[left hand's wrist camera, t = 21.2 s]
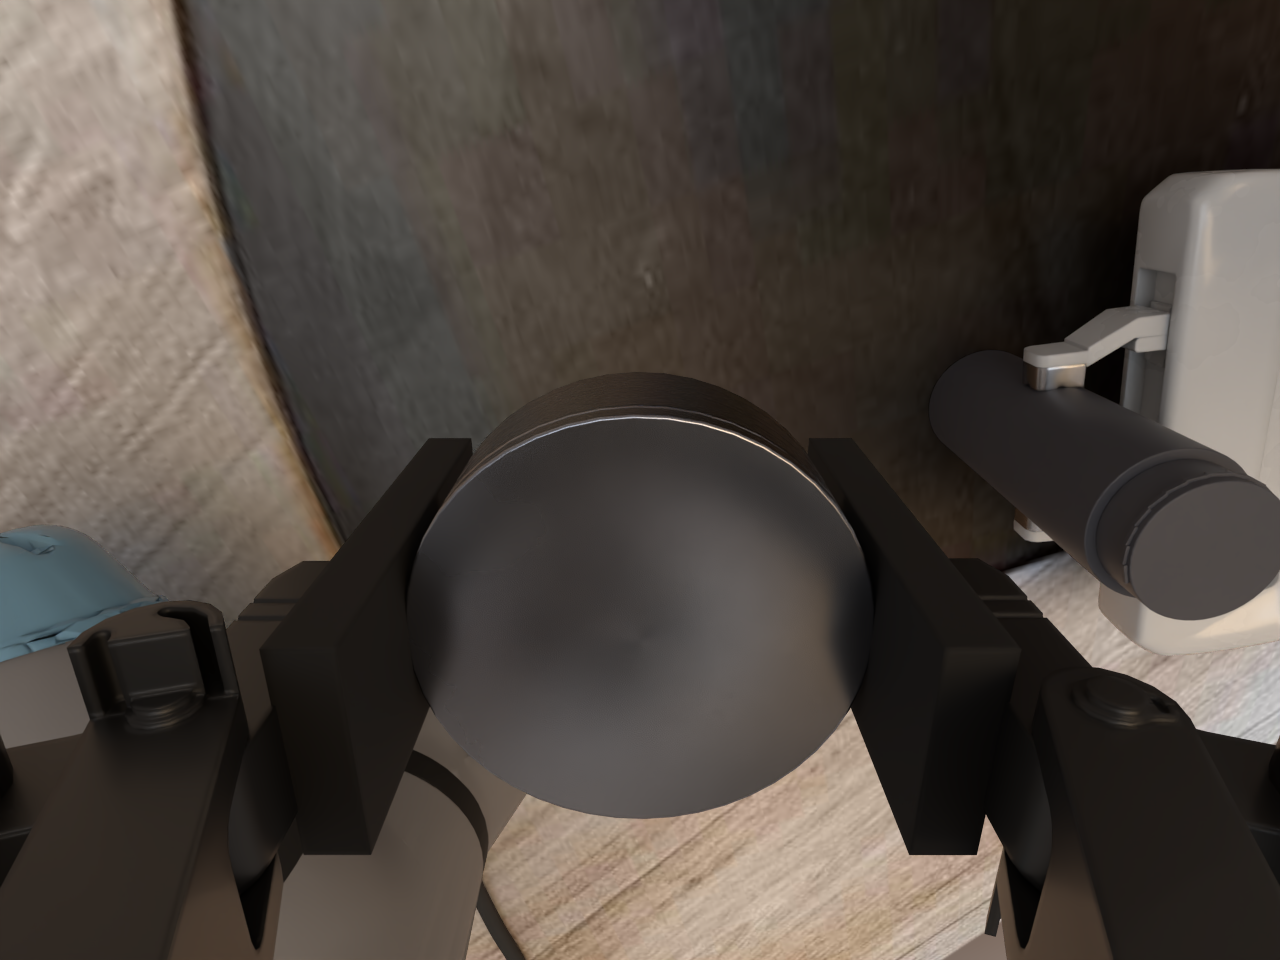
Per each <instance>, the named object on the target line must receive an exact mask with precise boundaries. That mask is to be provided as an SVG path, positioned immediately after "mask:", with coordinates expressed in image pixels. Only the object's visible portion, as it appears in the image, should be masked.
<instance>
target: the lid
mask: <svg viewBox="0 0 1280 960" xmlns="http://www.w3.org/2000/svg"><path fill="white" fill-rule="evenodd" d="M405 610H406V619H407V627H408V635H409V643H410V650H411V657H412V664H413V671H414V673H415V676H416V678H417V681H418V683H419V686H420V688H421V691H422V694H423V695H424V697H425V699H426V701H427V702H428V704H429V706H430V708H431V709H432V711H433V713H434V715H435V716H436V718H437V719H438V720H439V722H440V723H441V724H442V726H443V727H444V728H445V730H446V731H447V732H448V734H449V735H450V736H451V737H452V738H453V739H454V740H455V741H456V743H457V744H458V745H459V746H460V747H461V748H462V749H463V750H464V751H465V752H466V753H467V754H468V755H469V756H470V757H472V758H473V759H474V760H475V761H477V762H478V763H479V764H480V765H482V766H483V767H484V768H485V769H487V770H488V771H489V772H490V773H492V774H494V775H495V776H497V777H498V778H500V779H502V780H503V781H505V782H506V783H508V784H510V785H511V786H513V787H515V788H517V789H519V790H521V791H523V792H525V793H527V794H529V795H531V796H533V797H535V798H538V799H540V800H543V801H546V802H549V803H552V804H554V805H557V806H560V807H563V808H567V809H571V810H575V811H579V812H583V813H587V814H593V815H600V816H607V817H615V818H636V819H649V818H664V817H675V816H681V815H687V814H693V813H699V812H703V811H706V810H710V809H714V808H717V807H721V806H724V805H727V804H730V803H732V802H735V801H738V800H740V799H743V798H745V797H748V796H750V795H752V794H754V793H756V792H758V791H760V790H762V789H764V788H766V787H768V786H770V785H771V784H773V783H775V782H777V781H778V780H780V779H781V778H783V777H784V776H785V775H787V774H788V773H790V772H791V771H793V770H794V769H796V768H797V767H798V766H800V765H801V764H802V763H803V762H804V761H805V760H807V759H808V758H809V757H810V756H811V755H812V754H813V753H815V752H816V751H817V750H818V749H819V748H820V747H821V745H822V744H823V743H824V742H825V741H826V740H827V739H828V738H829V737H830V736H831V734H832V733H833V732H834V731H835V730H836V728H837V727H838V725H839V724H840V723H841V721H842V720H843V718H844V717H845V715H846V714H847V712H848V711H849V710H850V708H851V706H852V704H853V702H854V700H855V698H856V696H857V694H858V692H859V690H860V688H861V686H862V683H863V680H864V677H865V674H866V671H867V668H868V663H869V656H870V649H871V642H872V635H873V626H874V618H875V599H874V591H873V583H872V578H871V575H870V571H869V568H868V564H867V561H866V557H865V554H864V552H863V550H862V548H861V546H860V543H859V541H858V539H857V537H856V535H855V533H854V530H853V528H852V527H851V525H850V523H849V522H848V520H847V518H846V517H845V515H844V513H843V512H842V510H841V508H840V507H839V505H838V503H837V502H836V500H835V498H834V496H833V495H832V493H831V491H830V490H829V488H828V486H827V485H826V483H825V481H824V480H823V478H822V476H821V475H820V473H819V471H818V470H817V468H816V467H815V465H814V464H813V462H812V461H811V459H810V458H809V456H808V455H807V453H806V451H805V450H804V449H803V448H802V446H801V445H800V444H799V443H798V442H797V441H796V440H795V439H794V437H793V436H792V435H791V434H790V433H789V432H788V431H787V430H786V429H785V428H784V427H783V426H782V425H781V424H779V423H778V422H777V421H776V420H775V419H773V418H772V417H771V416H770V415H769V414H768V413H766V412H765V411H763V410H762V409H760V408H758V407H757V406H755V405H754V404H752V403H751V402H749V401H747V400H746V399H744V398H742V397H740V396H738V395H736V394H734V393H732V392H729V391H727V390H725V389H723V388H721V387H719V386H715V385H712V384H709V383H706V382H702V381H699V380H696V379H693V378H688V377H682V376H676V375H670V374H665V373H643V372H632V373H620V374H608V375H603V376H598V377H594V378H589V379H585V380H580V381H577V382H574V383H571V384H569V385H566V386H563V387H560V388H558V389H555V390H552V391H550V392H549V393H547V394H545V395H543V396H541V397H539V398H537V399H535V400H533V401H531V402H529V403H528V404H526V405H525V406H523V407H522V408H521V409H519V410H518V411H516V412H515V413H513V414H512V415H511V416H509V417H508V418H507V419H505V420H504V421H503V422H502V423H501V424H500V425H499V426H498V427H497V428H496V429H495V430H494V431H493V432H492V433H490V434H489V435H488V436H487V438H486V439H485V440H484V441H483V443H482V444H481V445H480V446H479V448H478V449H477V450H476V451H475V452H474V454H473V455H472V456H471V458H470V460H469V461H468V463H467V465H466V466H465V468H464V470H463V471H462V473H461V474H460V476H459V478H458V479H457V481H456V483H455V484H454V486H453V488H452V489H451V491H450V493H449V494H448V496H447V497H446V499H445V501H444V502H443V504H442V506H441V507H440V509H439V511H438V512H437V514H436V516H435V517H434V519H433V521H432V522H431V524H430V526H429V528H428V529H427V531H426V533H425V534H424V536H423V538H422V541H421V543H420V546H419V548H418V551H417V553H416V556H415V558H414V561H413V563H412V567H411V572H410V576H409V581H408V585H407V589H406V602H405Z"/></svg>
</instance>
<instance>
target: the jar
mask: <svg viewBox="0 0 1280 960" xmlns="http://www.w3.org/2000/svg"><path fill="white" fill-rule="evenodd" d="M1022 374H1023V359H1022V358H1020V357H1018V356H1016V355H1013V354H1011V353H1008V352H1005V351H999V350H986V351H980V352H976V353H973V354H970V355H967V356H965V357H964V358H962V359H960V360H958V361H957V362H955V363H954V364H953V365H951V366H950V367H949V368H948V369H947V370H946V371H945V372H944V373H943V374H942V376H941V377H940V378H939V380H938V381H937V383H936V385H935V387H934V389H933V392H932V394H931V398H930V403H929V419H930V423H931V426H932V429H933V431H934V433H935V434H936V436H937V437H938V438H939V440H940V441H941V442H942V443H943V444H944V445H946V446H947V447H948V448H949V449H950V450H951V451H952V452H954V453H955V454H956V455H957V456H958V457H959V458H960V459H962V460H963V461H964V462H965V463H966V464H967V465H968V466H969V467H971V468H972V469H973V470H974V471H975V472H976V473H977V474H979V475H980V476H981V477H982V478H983V479H984V480H985V481H987V482H988V483H989V484H990V485H991V486H992V487H993V488H994V489H996V490H997V491H998V492H999V493H1000V494H1001V495H1002V496H1004V497H1005V498H1006V499H1007V500H1008V501H1009V502H1010V503H1011V504H1013V505H1014V506H1015V507H1016V508H1017V509H1018V510H1019V511H1021V512H1022V513H1023V514H1024V515H1025V516H1026V517H1027V518H1029V519H1030V520H1031V521H1032V522H1033V523H1034V524H1035V525H1036V526H1038V527H1039V528H1040V529H1041V530H1042V531H1043V532H1044V533H1046V534H1047V535H1048V536H1049V537H1050V538H1051V539H1052V540H1053V541H1055V542H1056V543H1057V544H1058V545H1059V546H1060V547H1061V548H1063V549H1064V550H1065V551H1066V552H1067V553H1068V554H1069V555H1071V556H1072V557H1073V558H1074V559H1075V560H1076V561H1077V562H1078V563H1080V564H1081V565H1082V566H1083V567H1084V568H1085V569H1086V570H1088V571H1089V572H1090V573H1091V574H1092V575H1093V576H1094V577H1096V578H1097V579H1098V580H1099V581H1100V582H1101V583H1103V584H1104V585H1105V586H1106V587H1108V588H1109V589H1111V590H1113V591H1115V592H1117V593H1119V594H1122V595H1125V596H1129V597H1133V598H1137V599H1138V600H1139V601H1140V602H1141V603H1143V604H1144V605H1145V606H1146V607H1147V608H1149V609H1150V610H1152V611H1153V612H1155V613H1157V614H1159V615H1162V616H1164V617H1167V618H1171V619H1176V620H1184V621H1195V620H1204V619H1209V618H1214V617H1217V616H1220V615H1223V614H1226V613H1229V612H1231V611H1233V610H1235V609H1237V608H1239V607H1241V606H1243V605H1245V604H1246V603H1248V602H1249V601H1251V600H1252V599H1253V598H1255V597H1256V596H1257V595H1258V594H1260V593H1261V592H1262V591H1263V590H1264V589H1265V588H1266V587H1267V586H1268V585H1269V584H1270V583H1271V582H1272V580H1273V579H1274V578H1275V577H1276V575H1277V574H1278V572H1279V571H1280V499H1279V498H1278V497H1277V496H1275V495H1274V494H1273V493H1272V492H1271V491H1270V489H1269V488H1268V487H1267V486H1266V484H1264V483H1262V482H1260V481H1258V480H1256V479H1254V478H1253V477H1251V476H1249V475H1247V474H1246V472H1245V471H1244V470H1243V468H1242V467H1241V466H1240V465H1239V464H1237V463H1236V462H1235V461H1234V460H1232V459H1231V458H1229V457H1228V456H1226V455H1224V454H1222V453H1220V452H1218V451H1215V450H1213V449H1211V448H1209V447H1207V446H1205V445H1203V444H1201V443H1199V442H1196V441H1194V440H1192V439H1190V438H1188V437H1186V436H1184V435H1182V434H1180V433H1178V432H1175V431H1173V430H1171V429H1169V428H1167V427H1165V426H1163V425H1161V424H1159V423H1157V422H1154V421H1152V420H1150V419H1148V418H1146V417H1144V416H1142V415H1140V414H1138V413H1135V412H1133V411H1131V410H1129V409H1127V408H1125V407H1123V406H1121V405H1119V404H1117V403H1114V402H1112V401H1110V400H1108V399H1106V398H1104V397H1102V396H1100V395H1098V394H1095V393H1093V392H1091V391H1089V390H1087V389H1085V388H1083V387H1078V388H1064V387H1062V386H1060V387H1059V388H1058V389H1055V390H1051V391H1038V390H1034V389H1032V388H1031V387H1030V385H1024V384H1023V383H1022Z"/></svg>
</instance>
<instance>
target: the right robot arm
mask: <svg viewBox="0 0 1280 960" xmlns="http://www.w3.org/2000/svg"><path fill="white" fill-rule="evenodd" d="M1120 347H1122V348H1125V356H1124V365H1123V374H1122V384H1121V393H1120V403H1119V405H1121V406H1123V407H1125V408H1127V409H1129V410H1131V411H1133V412H1135V413H1138V414H1140V415H1142V416H1144V417H1146V418H1148V419H1150V420H1152V421H1154V422H1157V423H1159V424H1161V425H1163V426H1165V427H1167V428H1169V429H1171V430H1173V431H1175V432H1178V433H1180V434H1182V435H1184V436H1186V437H1188V438H1190V439H1192V440H1194V441H1196V442H1199V443H1201V444H1203V445H1205V446H1207V447H1209V448H1211V449H1213V450H1215V451H1218V452H1220V453H1222V454H1224V455H1226V456H1228V457H1229V458H1231V459H1232V460H1234V461H1235V462H1236V463H1237V464H1239V465H1240V466H1241V467H1242V468H1243V470H1244V471H1245V472H1246V474H1247V475H1249V476H1251V477H1253V478H1254V479H1256V480H1258V481H1260V482H1262V483H1264V484H1266V486H1267V487H1268V488H1269V489H1270V491H1271V492H1272V493H1273V494H1274V495H1275V496H1277V497H1278V498H1279V499H1280V169H1242V170H1218V171H1200V172H1186V173H1178V174H1172V175H1170V176H1168V177H1167V178H1166V179H1165V180H1163V181H1162V182H1161V183H1160V184H1159V185H1157V186H1156V187H1155V188H1154V189H1153V190H1152V191H1150V192H1149V193H1148V194H1147V195H1146V196H1145V197H1144V198H1143V200H1142V203H1141V207H1140V213H1139V223H1138V233H1137V243H1136V252H1135V262H1134V271H1133V280H1132V290H1131V299H1130V306H1127V307H1120V308H1112V309H1106V310H1105V311H1103V312H1102V313H1100V314H1099V315H1097V316H1096V317H1095V318H1093V319H1092V320H1090V321H1089V322H1088V323H1086V324H1085V325H1083V326H1082V327H1080V328H1079V329H1078V330H1076V331H1075V332H1073V333H1072V334H1070V335H1069V336H1068V337H1066V338H1065V339H1064V342H1058V343H1050V344H1042V345H1034V346H1028V347H1025V348H1024V356H1023V374H1022V383H1023V384H1024V385H1030V387H1031V388H1032V389H1034V390H1038V391H1051V390H1055V389H1058V388H1059V387H1060V386H1062V387H1064V388H1078V387H1084V380H1085V372H1086V366H1087V367H1088V366H1090V365H1091V364H1093V363H1095V362H1096V361H1098V360H1100V359H1101V358H1103V357H1105V356H1106V355H1108V354H1110V353H1111V352H1113V351H1115V350H1116V349H1118V348H1120ZM1014 530H1015V531H1016V532H1017V533H1018V534H1019V535H1020V536H1021V537H1023V538H1024V539H1025V540H1028V541H1031V542H1045V541H1053V540H1052V539H1051V538H1050V537H1049V536H1048V535H1047V534H1046V533H1044V532H1043V531H1042V530H1041V529H1040V528H1039V527H1038V526H1036V525H1035V524H1034V523H1033V522H1032V521H1031V520H1030V519H1029V518H1027V517H1026V516H1025V515H1024V514H1023V513H1022V512H1021V511H1019V510H1018V509H1017V508H1016V507H1015V514H1014ZM1098 605H1099V609H1100V610H1101V612H1102V613H1103V615H1104V616H1105V617H1106V618H1107V619H1108V620H1109V621H1110V622H1111V623H1112V624H1113V625H1114V626H1115V627H1116V628H1117V629H1118V630H1119V631H1120V632H1122V633H1123V634H1124V635H1125V636H1126V637H1127V638H1129V639H1130V640H1131V641H1132V642H1134V643H1135V644H1136V645H1138V646H1140V647H1141V648H1143V649H1145V650H1147V651H1149V652H1151V653H1153V654H1157V655H1162V656H1178V655H1190V654H1200V653H1209V652H1216V651H1224V650H1230V649H1237V648H1243V647H1249V646H1254V645H1260V644H1265V643H1270V642H1275V641H1278V640H1280V571H1279V572H1278V574H1277V575H1276V577H1275V578H1274V579H1273V580H1272V582H1271V583H1270V584H1269V585H1268V586H1267V587H1266V588H1265V589H1264V590H1263V591H1262V592H1261V593H1260V594H1258V595H1257V596H1256V597H1255V598H1253V599H1252V600H1251V601H1249V602H1248V603H1246V604H1245V605H1243V606H1241V607H1239V608H1237V609H1235V610H1233V611H1231V612H1229V613H1226V614H1223V615H1220V616H1217V617H1214V618H1209V619H1204V620H1195V621H1184V620H1176V619H1171V618H1167V617H1164V616H1162V615H1159V614H1157V613H1155V612H1153V611H1152V610H1150V609H1149V608H1147V607H1146V606H1145V605H1144V604H1143V603H1141V602H1140V601H1139V600H1138V599H1137V598H1133V597H1129V596H1125V595H1122V594H1119V593H1117V592H1115V591H1113V590H1111V589H1109V588H1108V587H1106V586H1105V585H1104V584H1103V583H1101V582H1100V590H1099V598H1098Z"/></svg>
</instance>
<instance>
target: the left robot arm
mask: <svg viewBox="0 0 1280 960" xmlns="http://www.w3.org/2000/svg"><path fill="white" fill-rule="evenodd" d="M472 455H473V453H472V441H471V438H429V439H428V440H427V441H426V443H425V444H424V445H423V446H422V448H421V449H420V450H419V451H418V453H417V454H416V455H415V456H414V458H413V459H412V460H411V461H410V463H409V464H408V465H407V466H406V467H405V469H404V470H403V471H402V472H401V474H400V475H399V476H398V477H397V479H396V480H395V481H394V482H393V484H392V485H391V486H390V487H389V489H388V490H387V491H386V492H385V494H384V495H383V496H382V497H381V498H380V500H379V501H378V502H377V503H376V505H375V506H374V507H373V508H372V510H371V511H370V512H369V513H368V515H367V516H366V517H365V518H364V520H363V521H362V522H361V523H360V525H359V526H358V527H357V528H356V530H355V531H354V532H353V533H352V534H351V536H350V537H349V538H348V539H347V541H346V542H345V543H344V544H343V546H342V547H341V548H340V549H339V551H338V552H337V553H336V554H335V556H334V557H333V558H332V559H331V561H302V562H301V563H299V564H297V565H295V566H294V567H292V568H290V569H288V570H287V571H285V572H283V573H282V574H280V575H278V576H276V577H275V578H273V579H272V580H271V581H270V582H269V583H268V584H267V585H266V587H265V588H264V589H263V590H262V591H261V592H260V593H259V594H258V595H257V596H256V597H255V599H254V603H250V604H249V605H248V606H247V607H246V608H245V610H244V611H243V612H242V613H241V614H240V615H239V616H238V621H234V622H233V623H232V624H231V625H230V626H229V627H228V628H227V629H226V628H225V623H224V619H223V615H222V612H221V611H219V610H218V609H217V608H215V607H214V606H212V605H211V604H208V603H202V602H196V601H191V600H188V601H168V599H167V598H166V597H164V596H161V595H154V594H153V593H152V592H151V591H150V590H149V589H147V588H146V587H145V586H144V585H143V584H142V583H141V582H140V581H139V580H138V579H137V578H135V577H134V576H133V575H132V574H131V573H130V572H129V571H128V570H127V569H126V568H125V567H123V566H122V565H121V564H120V563H119V562H118V561H117V560H116V559H115V558H114V557H113V556H111V555H110V554H109V553H108V552H107V551H106V550H105V549H104V548H103V547H102V546H101V545H99V544H98V543H97V542H96V541H94V540H93V539H92V538H90V537H89V536H87V535H85V534H83V533H81V532H79V531H77V530H74V529H71V528H67V527H63V526H56V525H34V526H28V527H23V528H18V529H13V530H10V531H7V532H3V533H0V960H465V959H466V954H467V949H468V944H469V939H470V935H471V930H472V925H473V920H474V915H475V910H476V908H477V910H478V911H479V913H480V915H481V917H482V919H483V921H484V923H485V925H486V927H487V929H488V931H489V932H490V934H491V936H492V937H493V939H494V941H495V942H496V944H497V945H498V947H499V949H500V950H501V952H502V953H503V955H504V956H505V958H506V959H507V960H525V958H524V956H523V954H522V953H521V951H520V949H519V948H518V946H517V945H516V943H515V942H514V940H513V938H512V937H511V935H510V934H509V932H508V930H507V929H506V927H505V925H504V924H503V922H502V920H501V918H500V916H499V914H498V912H497V910H496V908H495V906H494V904H493V902H492V900H491V898H490V896H489V894H488V892H487V890H486V888H485V886H484V884H483V882H482V875H483V871H484V866H485V862H486V858H487V854H488V851H489V850H490V848H491V847H492V845H493V844H494V842H495V841H496V839H497V838H498V836H499V835H500V833H501V832H502V830H503V829H504V827H505V826H506V824H507V823H508V821H509V820H510V818H511V817H512V815H513V814H514V812H515V811H516V809H517V808H518V806H519V805H520V803H521V802H522V800H523V799H524V797H525V796H526V794H527V793H525V792H523V791H521V790H519V789H517V788H515V787H513V786H511V785H510V784H508V783H506V782H505V781H503V780H502V779H500V778H498V777H497V776H495V775H494V774H492V773H490V772H489V771H488V770H487V769H485V768H484V767H483V766H482V765H480V764H479V763H478V762H477V761H475V760H474V759H473V758H472V757H470V756H469V755H468V754H467V753H466V752H465V751H464V750H463V749H462V748H461V747H460V746H459V745H458V744H457V743H456V741H455V740H454V739H453V738H452V737H451V736H450V735H449V734H448V732H447V731H446V730H445V728H444V727H443V726H442V724H441V723H440V722H439V720H438V719H437V718H436V716H435V715H434V713H433V711H432V709H431V708H430V706H429V704H428V702H427V701H426V699H425V697H424V695H423V694H422V691H421V688H420V686H419V683H418V681H417V678H416V676H415V673H414V671H413V664H412V657H411V650H410V643H409V635H408V627H407V619H406V610H405V602H406V589H407V585H408V581H409V576H410V572H411V567H412V563H413V561H414V558H415V556H416V553H417V551H418V548H419V546H420V543H421V541H422V538H423V536H424V534H425V533H426V531H427V529H428V528H429V526H430V524H431V522H432V521H433V519H434V517H435V516H436V514H437V512H438V511H439V509H440V507H441V506H442V504H443V502H444V501H445V499H446V497H447V496H448V494H449V493H450V491H451V489H452V488H453V486H454V484H455V483H456V481H457V479H458V478H459V476H460V474H461V473H462V471H463V470H464V468H465V466H466V465H467V463H468V461H469V460H470V458H471V456H472ZM808 456H809V458H810V459H811V461H812V462H813V464H814V465H815V467H816V468H817V470H818V471H819V473H820V475H821V476H822V478H823V480H824V481H825V483H826V485H827V486H828V488H829V490H830V491H831V493H832V495H833V496H834V498H835V500H836V502H837V503H838V505H839V507H840V508H841V510H842V512H843V513H844V515H845V517H846V518H847V520H848V522H849V523H850V525H851V527H852V528H853V530H854V533H855V535H856V537H857V539H858V541H859V543H860V546H861V548H862V550H863V552H864V554H865V557H866V561H867V564H868V568H869V571H870V575H871V578H872V583H873V591H874V599H875V618H874V626H873V635H872V642H871V649H870V656H869V663H868V668H867V671H866V674H865V677H864V680H863V683H862V686H861V688H860V690H859V692H858V694H857V696H856V698H855V700H854V702H853V704H852V706H851V709H852V712H853V714H854V717H855V719H856V722H857V724H858V727H859V729H860V732H861V734H862V737H863V739H864V742H865V744H866V747H867V749H868V752H869V754H870V757H871V760H872V762H873V765H874V767H875V770H876V772H877V775H878V777H879V780H880V782H881V785H882V787H883V790H884V792H885V795H886V797H887V800H888V802H889V805H890V807H891V810H892V813H893V815H894V818H895V820H896V823H897V825H898V828H899V830H900V833H901V835H902V838H903V840H904V843H905V845H906V848H907V850H908V853H909V855H977V852H978V847H979V843H980V838H981V833H982V829H983V824H984V820H985V815H987V817H988V819H989V821H990V823H991V824H992V826H993V828H994V830H995V832H996V834H997V836H998V837H999V839H1000V841H1001V843H1002V845H1003V851H1002V855H1001V859H1000V863H999V868H998V872H997V876H996V881H995V885H994V889H993V893H992V898H991V902H990V906H989V911H988V915H987V921H986V928H985V934H987V935H991V936H996V933H997V929H998V925H999V921H1000V919H1002V927H1003V934H1004V942H1005V949H1006V956H1007V960H1280V737H1279V739H1278V742H1277V744H1276V745H1272V744H1266V743H1261V742H1256V741H1251V740H1246V739H1241V738H1236V737H1231V736H1226V735H1221V734H1216V733H1211V732H1206V731H1202V730H1198V729H1196V728H1195V726H1194V724H1193V723H1192V721H1191V719H1190V718H1189V716H1188V715H1187V714H1186V713H1185V712H1184V711H1183V709H1182V708H1181V707H1180V706H1179V705H1178V703H1177V702H1176V701H1174V700H1173V699H1171V698H1170V697H1168V696H1167V695H1165V694H1164V693H1162V692H1161V691H1159V690H1158V689H1156V688H1155V687H1153V686H1151V685H1149V684H1147V683H1144V682H1142V681H1140V680H1137V679H1135V678H1133V677H1130V676H1128V675H1125V674H1121V673H1117V672H1113V671H1109V670H1105V669H1102V668H1094V667H1092V666H1091V665H1090V664H1089V663H1088V662H1087V661H1086V660H1085V659H1084V658H1083V657H1082V655H1081V654H1080V653H1079V652H1078V651H1077V650H1076V649H1075V648H1074V647H1073V646H1072V645H1071V643H1070V642H1069V641H1068V640H1067V639H1066V638H1065V637H1064V636H1063V635H1062V634H1061V633H1060V632H1059V630H1058V629H1057V628H1056V627H1055V626H1054V625H1053V624H1052V623H1051V622H1050V621H1049V620H1048V619H1047V618H1043V613H1042V612H1041V611H1040V610H1039V609H1038V608H1037V607H1036V605H1035V604H1034V603H1033V602H1032V601H1031V600H1027V596H1026V595H1025V594H1024V592H1023V591H1022V590H1021V589H1020V588H1019V587H1018V586H1017V585H1016V584H1015V583H1014V582H1013V581H1012V579H1011V578H1010V577H1009V576H1007V575H1006V574H1004V573H1002V572H1001V571H999V570H997V569H995V568H994V567H992V566H990V565H988V564H987V563H985V562H983V561H981V560H980V559H948V557H947V556H946V555H945V554H944V552H943V551H942V550H941V549H940V547H939V546H938V545H937V544H936V543H935V541H934V540H933V539H932V538H931V536H930V535H929V534H928V533H927V531H926V530H925V529H924V528H923V526H922V525H921V524H920V523H919V521H918V520H917V519H916V518H915V516H914V515H913V514H912V513H911V512H910V510H909V509H908V508H907V507H906V505H905V504H904V503H903V502H902V500H901V499H900V498H899V497H898V495H897V494H896V493H895V492H894V490H893V489H892V488H891V487H890V485H889V484H888V483H887V482H886V481H885V479H884V478H883V477H882V476H881V474H880V473H879V472H878V471H877V469H876V468H875V467H874V466H873V464H872V463H871V462H870V461H869V459H868V458H867V457H866V456H865V454H864V453H863V452H862V451H861V450H860V448H859V447H858V446H857V445H856V443H855V442H854V441H853V440H852V438H809V447H808Z"/></svg>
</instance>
